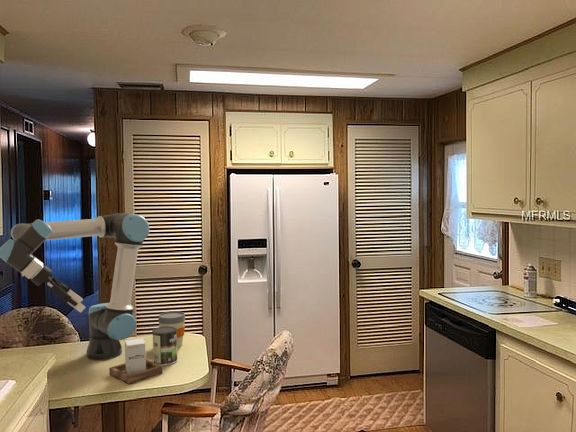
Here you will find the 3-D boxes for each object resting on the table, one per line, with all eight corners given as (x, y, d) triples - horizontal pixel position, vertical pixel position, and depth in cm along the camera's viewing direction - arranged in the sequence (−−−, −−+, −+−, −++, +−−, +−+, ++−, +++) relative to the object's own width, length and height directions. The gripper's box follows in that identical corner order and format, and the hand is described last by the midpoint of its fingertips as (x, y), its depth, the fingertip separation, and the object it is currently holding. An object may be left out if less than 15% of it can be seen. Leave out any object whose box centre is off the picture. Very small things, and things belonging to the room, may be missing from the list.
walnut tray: (109, 375, 200) (109, 367, 200) (142, 364, 211) (142, 357, 211) (128, 385, 190) (128, 377, 190) (162, 373, 201) (162, 366, 201)
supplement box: (127, 376, 195) (126, 345, 195) (125, 370, 202) (124, 340, 201) (146, 373, 198) (145, 343, 198) (144, 367, 205) (142, 337, 204)
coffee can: (181, 357, 218) (180, 326, 217) (171, 366, 208) (170, 333, 207) (159, 356, 221) (158, 325, 219) (148, 365, 210) (147, 332, 209)
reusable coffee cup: (158, 342, 239) (157, 312, 238) (184, 340, 243) (183, 310, 242) (159, 351, 227) (158, 319, 226) (187, 348, 231) (186, 316, 230)
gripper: (30, 274, 198) (73, 305, 206) (28, 286, 175) (76, 321, 183) (44, 259, 200) (86, 291, 207) (44, 269, 177) (91, 305, 185)
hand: (82, 305), depth 195 cm, fingers open, 13 cm apart
